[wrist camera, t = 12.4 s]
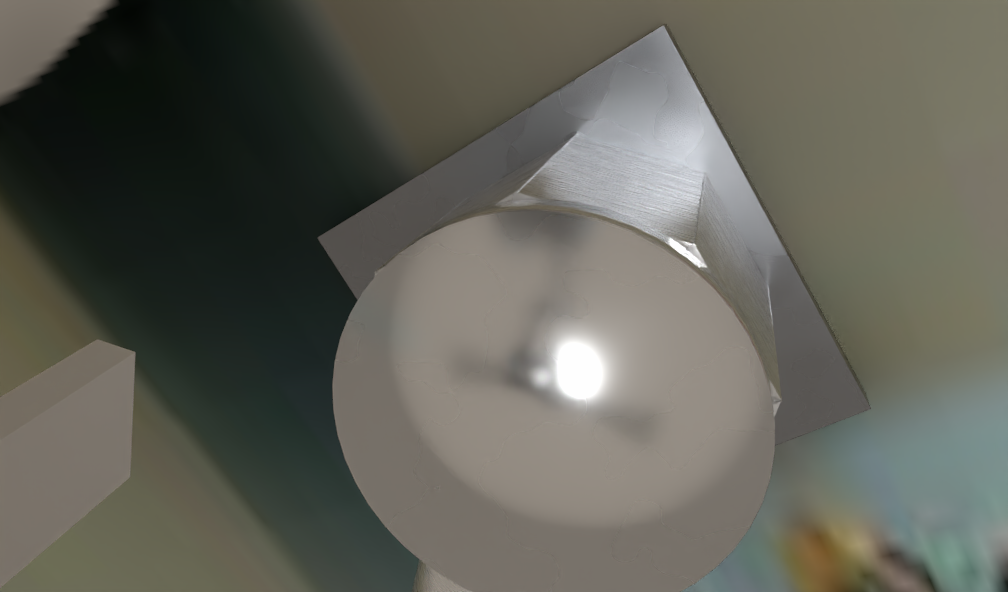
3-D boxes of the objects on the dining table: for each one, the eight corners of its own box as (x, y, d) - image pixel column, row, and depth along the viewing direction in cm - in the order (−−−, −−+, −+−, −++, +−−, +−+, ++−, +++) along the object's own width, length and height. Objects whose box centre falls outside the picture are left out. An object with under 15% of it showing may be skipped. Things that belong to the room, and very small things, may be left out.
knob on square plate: (331, 229, 27) (196, 311, 20) (666, 23, 23) (637, 39, 16) (522, 527, 29) (458, 692, 22) (865, 393, 25) (915, 548, 18)
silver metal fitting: (393, 510, 29) (280, 685, 22) (481, 102, 24) (369, 153, 16) (654, 604, 28) (627, 824, 20) (811, 194, 22) (850, 294, 15)
